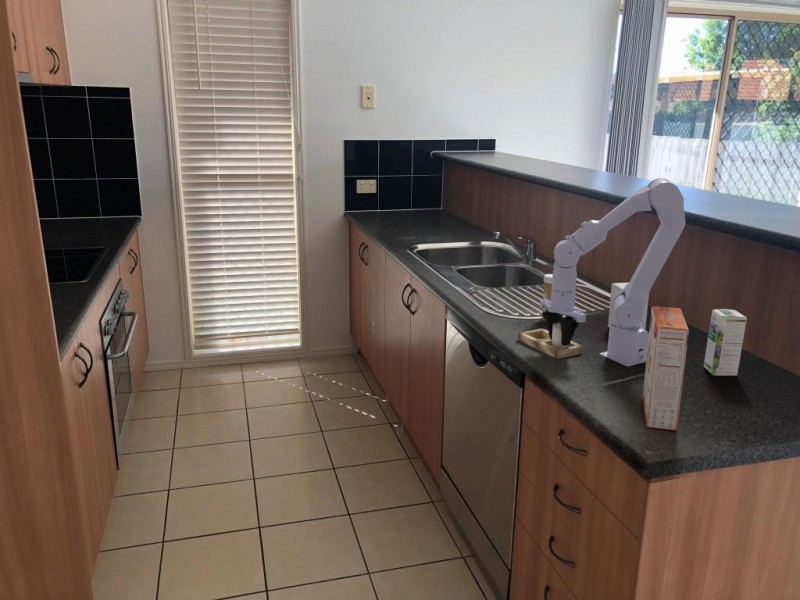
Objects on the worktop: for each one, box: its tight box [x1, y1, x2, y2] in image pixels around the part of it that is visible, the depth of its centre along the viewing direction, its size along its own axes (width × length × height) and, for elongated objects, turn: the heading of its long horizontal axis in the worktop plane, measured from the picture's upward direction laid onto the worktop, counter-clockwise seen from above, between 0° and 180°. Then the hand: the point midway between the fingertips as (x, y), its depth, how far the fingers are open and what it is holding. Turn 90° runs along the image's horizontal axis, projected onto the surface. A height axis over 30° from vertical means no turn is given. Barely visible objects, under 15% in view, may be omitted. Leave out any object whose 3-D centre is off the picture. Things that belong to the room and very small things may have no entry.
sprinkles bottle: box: [541, 273, 553, 322], centre depth 189 cm, size 5×5×14 cm
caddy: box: [517, 328, 584, 360], centre depth 168 cm, size 16×8×2 cm, turn 28°
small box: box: [607, 282, 650, 331], centre depth 181 cm, size 8×6×13 cm
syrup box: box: [703, 308, 748, 377], centre depth 152 cm, size 6×6×14 cm
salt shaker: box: [551, 322, 568, 349], centre depth 164 cm, size 4×4×7 cm
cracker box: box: [642, 305, 690, 432], centre depth 130 cm, size 14×6×21 cm, turn 163°
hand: (559, 341), depth 165 cm, fingers closed on salt shaker, 4 cm apart
